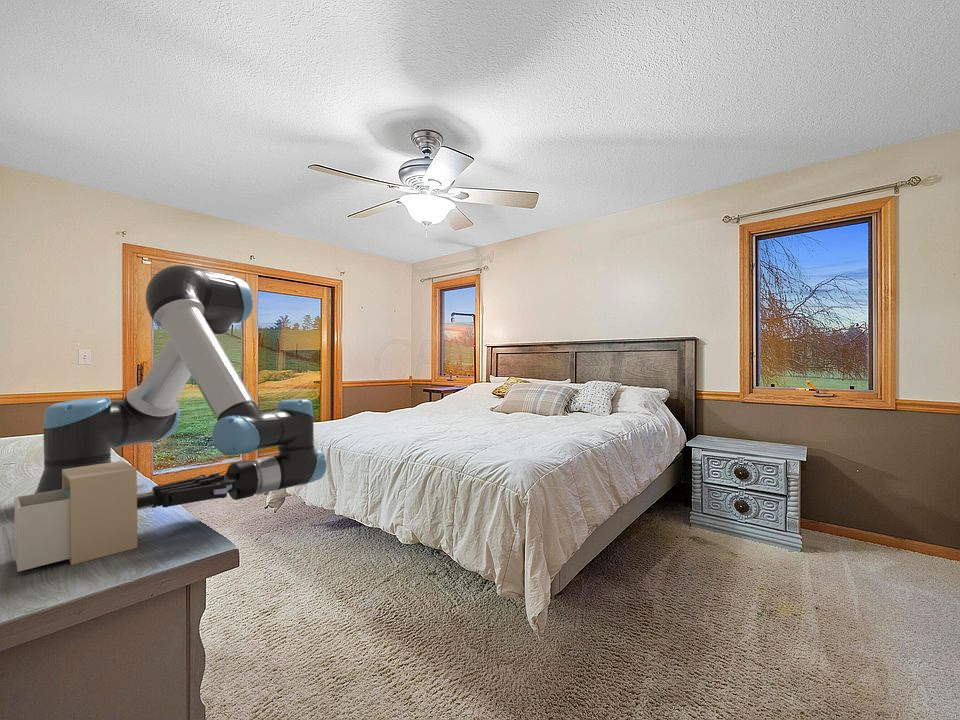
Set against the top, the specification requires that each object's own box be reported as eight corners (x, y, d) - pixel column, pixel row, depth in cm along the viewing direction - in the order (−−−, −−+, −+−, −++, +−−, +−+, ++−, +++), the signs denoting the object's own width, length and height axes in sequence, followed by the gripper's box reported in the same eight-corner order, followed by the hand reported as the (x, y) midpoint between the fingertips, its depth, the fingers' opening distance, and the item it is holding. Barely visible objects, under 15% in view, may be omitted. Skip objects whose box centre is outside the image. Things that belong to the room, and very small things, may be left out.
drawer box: (98, 534, 75) (98, 483, 76) (108, 548, 69) (108, 492, 69) (14, 554, 68) (14, 497, 68) (17, 571, 62) (17, 508, 62)
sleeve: (123, 532, 79) (122, 460, 79) (137, 547, 71) (136, 468, 72) (62, 546, 73) (62, 469, 73) (71, 565, 65) (70, 478, 66)
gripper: (266, 501, 86) (113, 539, 68) (240, 490, 95) (98, 522, 77) (265, 463, 86) (113, 491, 68) (239, 456, 95) (97, 479, 77)
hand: (105, 507), depth 73 cm, fingers closed
